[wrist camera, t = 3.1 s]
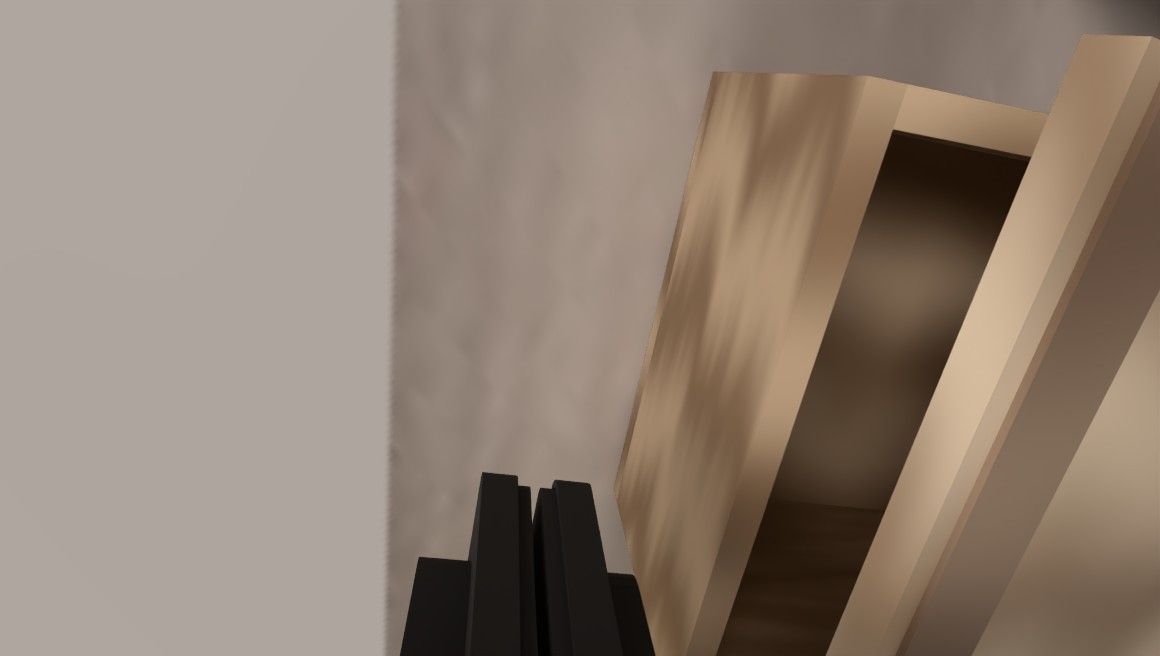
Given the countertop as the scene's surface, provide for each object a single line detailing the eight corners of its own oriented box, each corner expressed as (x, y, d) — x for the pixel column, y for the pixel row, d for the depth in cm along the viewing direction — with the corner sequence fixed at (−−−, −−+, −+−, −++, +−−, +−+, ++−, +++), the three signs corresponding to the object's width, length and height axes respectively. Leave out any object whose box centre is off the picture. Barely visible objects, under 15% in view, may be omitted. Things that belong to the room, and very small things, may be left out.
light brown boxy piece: (713, 71, 21) (868, 76, 12) (1063, 143, 23) (1428, 195, 14) (613, 488, 27) (667, 711, 18) (904, 518, 29) (1090, 731, 20)
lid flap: (1081, 34, 7) (1164, 36, 6) (1439, 181, 14) (1492, 188, 13) (684, 997, 12) (707, 1043, 12) (1086, 740, 20) (1112, 761, 19)
